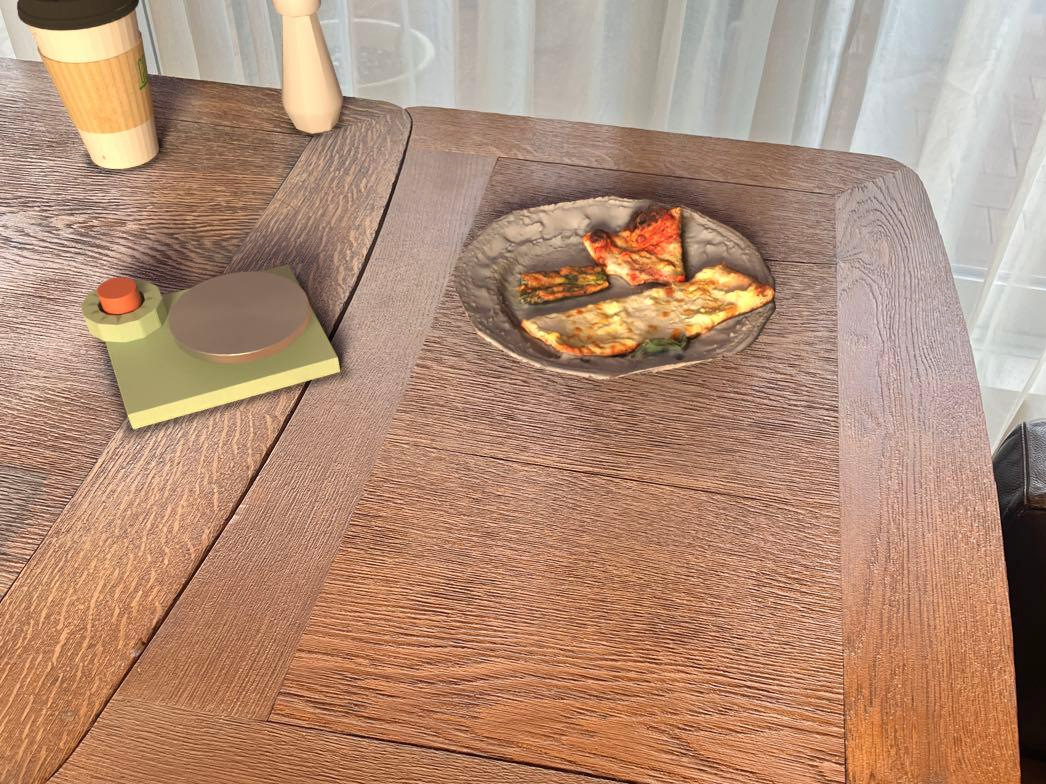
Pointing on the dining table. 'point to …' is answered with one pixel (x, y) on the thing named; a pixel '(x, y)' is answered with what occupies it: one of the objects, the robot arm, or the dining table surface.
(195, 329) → the scale pan
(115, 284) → the button
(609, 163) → the dining table surface
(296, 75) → the salt shaker
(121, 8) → the coffee cup
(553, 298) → the food plate
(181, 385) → the scale
